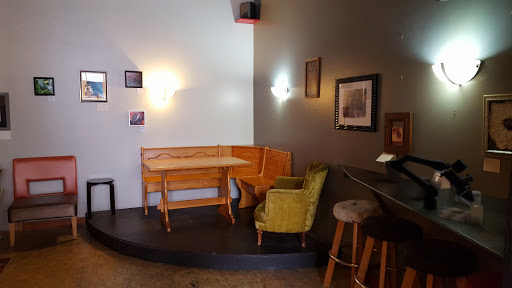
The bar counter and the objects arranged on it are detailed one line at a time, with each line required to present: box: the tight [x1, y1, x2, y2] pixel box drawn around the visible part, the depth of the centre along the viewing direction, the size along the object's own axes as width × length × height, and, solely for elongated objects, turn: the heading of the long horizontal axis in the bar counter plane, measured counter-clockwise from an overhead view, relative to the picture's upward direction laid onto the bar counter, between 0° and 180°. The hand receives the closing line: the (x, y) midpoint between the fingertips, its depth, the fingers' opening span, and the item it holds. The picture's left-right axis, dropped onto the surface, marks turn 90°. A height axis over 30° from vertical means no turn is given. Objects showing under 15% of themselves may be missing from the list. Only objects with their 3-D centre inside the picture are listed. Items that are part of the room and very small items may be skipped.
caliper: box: [454, 194, 471, 208], centre depth 240 cm, size 20×1×6 cm, turn 6°
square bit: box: [470, 190, 482, 205], centre depth 221 cm, size 4×4×13 cm
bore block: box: [437, 207, 470, 224], centre depth 216 cm, size 14×14×3 cm
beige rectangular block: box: [468, 203, 484, 227], centre depth 203 cm, size 6×6×10 cm
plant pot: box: [384, 160, 403, 184], centre depth 311 cm, size 15×15×16 cm
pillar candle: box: [413, 176, 432, 201], centre depth 258 cm, size 10×10×15 cm
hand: (474, 200), depth 221 cm, fingers open, 9 cm apart
